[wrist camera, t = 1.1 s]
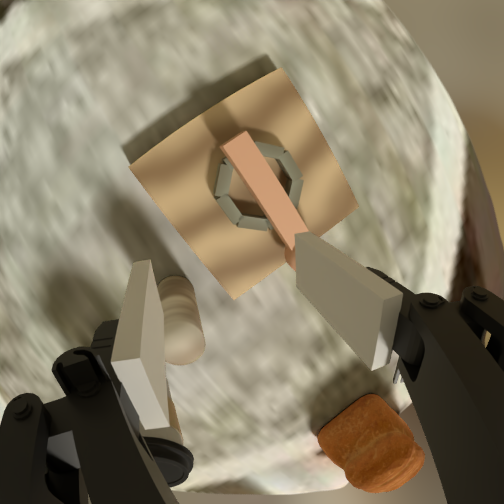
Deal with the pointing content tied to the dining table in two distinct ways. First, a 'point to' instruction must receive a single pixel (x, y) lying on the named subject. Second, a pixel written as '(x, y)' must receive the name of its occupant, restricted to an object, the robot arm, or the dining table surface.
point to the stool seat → (233, 188)
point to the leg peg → (180, 321)
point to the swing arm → (265, 190)
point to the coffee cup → (169, 448)
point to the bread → (372, 445)
